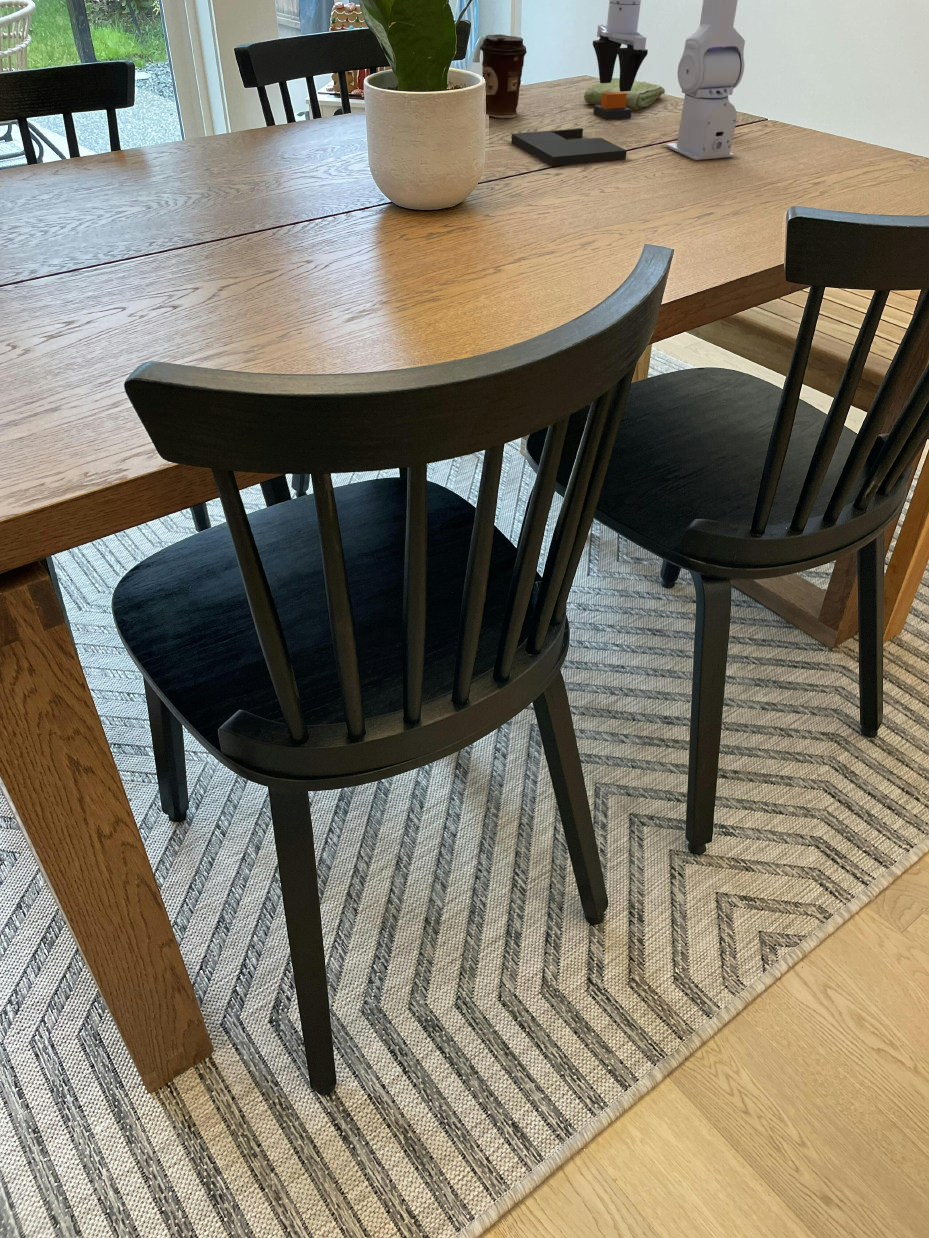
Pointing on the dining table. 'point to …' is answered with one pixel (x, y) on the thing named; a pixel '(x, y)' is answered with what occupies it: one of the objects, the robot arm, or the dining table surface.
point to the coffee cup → (502, 73)
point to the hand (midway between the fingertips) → (615, 87)
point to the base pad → (567, 147)
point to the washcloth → (635, 98)
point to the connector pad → (612, 113)
